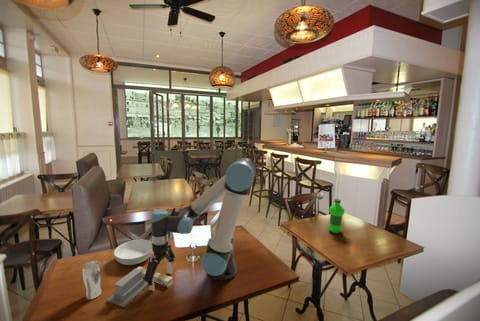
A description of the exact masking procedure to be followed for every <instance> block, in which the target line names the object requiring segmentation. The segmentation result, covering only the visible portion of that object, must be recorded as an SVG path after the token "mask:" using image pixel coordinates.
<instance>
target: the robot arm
mask: <svg viewBox="0 0 480 321" xmlns="http://www.w3.org/2000/svg"><path fill="white" fill-rule="evenodd" d="M256 172H257V166H256V164H255V162H254V161H253V160H252V159H250V158H249V157H239V158H237V159H236V160H235V161H234V162H233V163H231V164H229V166H228V167H227V169H226V171H225V174H224V175H222V177H221V178H220V179H218V180H217V181H216V182H215V183H214V184H212V186H210V187H209V188H208V189H207V190H206V191H204V192H203V193H202V194H201V195H200V196H199V197H197V198H196V199H195V200H194V201H193V202H191V203H190V204H189V205H187V206H186V207H185V208H184V209H183V210H182V211H181V212H180V213H179V214H178V215H177V216H176V215H169V212H168V211H167V210H165V209H157V210H156V209H155V210H154V211H152V213H151V217H150V218H151V220H150V223H151V224H150V225H151V242H152V251H153V252H152V253H153V255H152V256H150V257H149V258H148V262H147V266H146V269H147V270H146V273H145V277H144V281H147V282H148V285H149V286H148V290H149V291H151V290H152V291H151V292H154V291H156V290H155V288H156V287H155V283H154V278H153V276H154V274H155V272H157V270H158V269H157V268H158V266H159V265H160V263H161V261H162V260H164V259H166V260H167V261H166V273H167V274H169V275H172V274H173V263H174V262H175V259H176V255H175V253H174V251H173V248H172V245H171V244H169V233H174V234H180V235H183V234H184V235H187V234H188V235H189V234H191V232H192V231H193V228H194V221H195V220H196V219H198V217H200V216H201V215H202V214H203V213H204V212H206V211H207V210H208V209H209V208H211V206H213V205H214V204H215V203H217V202H218V201H219V200H221V199H222V198H223V199H222V200H223V201H222V204H221V207H220V209H219V210H220V211H219V214H218V217H217V220H216V221H217V222H216V224H215V227H214V228H215V229H214V230H213V231H212V232H211V237H210V238H208V240H207V242H206V243H207V244H206V247H205V251H204V254H203V255H202V256H201V259H200V260H201V261H200V266H201V268H202V269H203V271H204V273H206V274H208V276H209V277H210V278H211V279H213V280H216V281H218V280H220V281H223V280H225V281H228V279H229V280H231V279H233V278H234V277H235V276H236V275H235V274H237V265H236V262H235V258H234V257H235V256H234V251H235V250H234V249H235V247H234V246H235V245H234V244H235V242H234V241H235V235H234V231H235V229H236V225H237V223H238V219H239V216H240V213H241V209H242V205H243V202H244V201H245V200H244V199H245V197H247V196H248V195H249V194H250V191H251V188H252V185H253V183H254V179H255V177H256V174H257V173H256ZM233 276H234V277H233ZM232 277H233V278H232ZM223 282H224V281H223Z"/></svg>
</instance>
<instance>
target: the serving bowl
mask: <svg viewBox="0 0 480 321" xmlns="http://www.w3.org/2000/svg"><path fill="white" fill-rule="evenodd" d="M153 253H154V252H153V251H152V240H149V239H133V240H132V239H131V240H128V241H126V242H123V243H121V244H120V245H118V246H117V247H116V248H115V250H114V251H113V255H114V259H115V260H116V261H117V262H118V263H119V264H121V265H125V266H133V265H137V264H138V265H139V264H140V263H143V262H145V261H147V260H149V257H152V256H151V255H152V254H153Z"/></svg>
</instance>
